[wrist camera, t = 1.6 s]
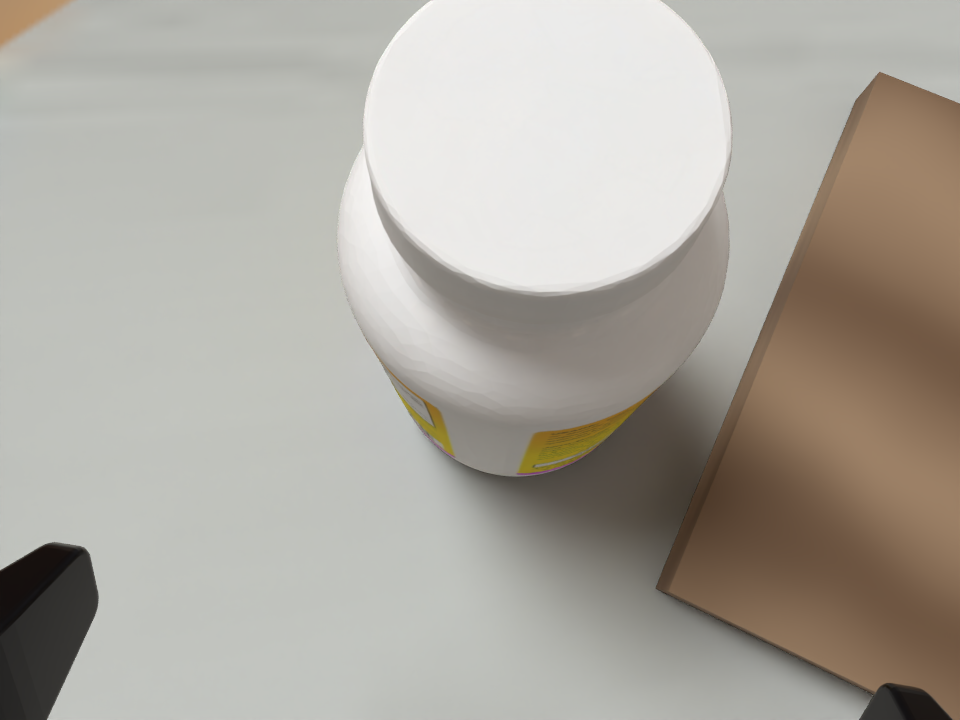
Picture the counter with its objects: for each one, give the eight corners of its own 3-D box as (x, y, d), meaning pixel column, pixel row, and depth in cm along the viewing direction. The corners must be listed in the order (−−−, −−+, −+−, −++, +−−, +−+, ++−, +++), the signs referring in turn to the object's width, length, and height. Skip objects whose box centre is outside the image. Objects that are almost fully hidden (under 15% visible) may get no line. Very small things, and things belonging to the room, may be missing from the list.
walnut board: (984, 748, 20) (1025, 764, 18) (655, 588, 21) (668, 591, 19) (1145, 217, 23) (1190, 195, 22) (855, 100, 24) (879, 71, 23)
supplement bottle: (659, 291, 23) (875, -24, 10) (593, 512, 21) (750, 460, 9) (441, 223, 23) (392, -157, 11) (362, 433, 22) (198, 278, 9)
